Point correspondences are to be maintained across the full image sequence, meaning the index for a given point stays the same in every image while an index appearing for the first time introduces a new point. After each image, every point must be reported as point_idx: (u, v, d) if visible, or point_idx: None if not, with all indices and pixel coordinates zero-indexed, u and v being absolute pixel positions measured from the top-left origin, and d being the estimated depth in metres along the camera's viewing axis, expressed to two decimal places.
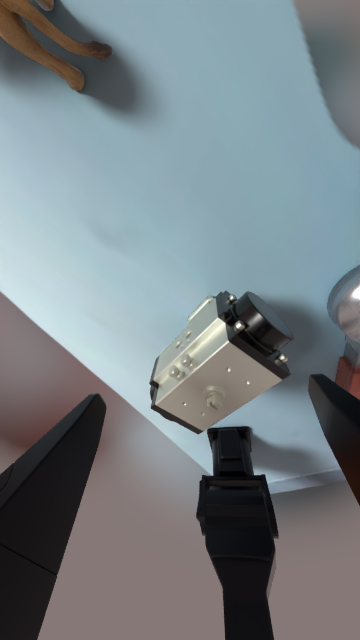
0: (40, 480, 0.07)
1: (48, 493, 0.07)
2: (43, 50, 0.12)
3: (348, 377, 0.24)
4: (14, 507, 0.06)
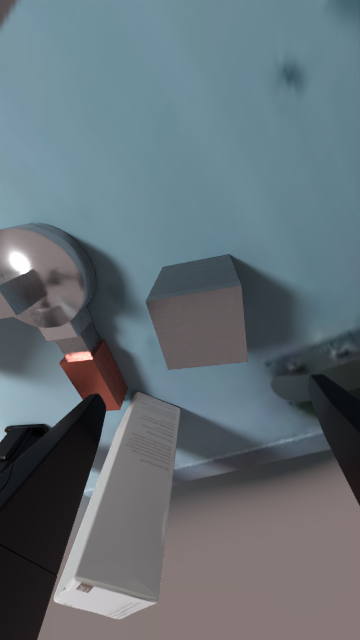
0: (40, 480, 0.07)
1: (48, 493, 0.07)
2: None
3: None
4: (14, 507, 0.06)
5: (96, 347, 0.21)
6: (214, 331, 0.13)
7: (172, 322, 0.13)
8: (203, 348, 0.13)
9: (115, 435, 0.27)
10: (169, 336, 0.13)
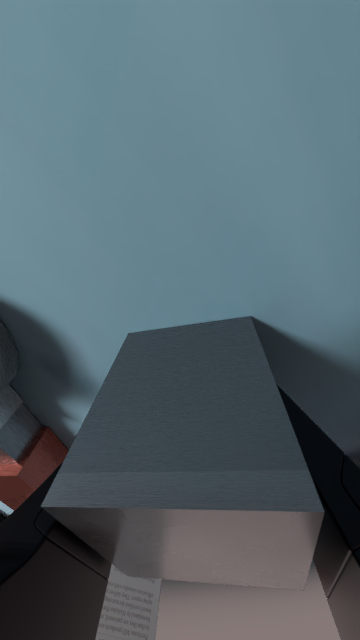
0: None
1: None
2: None
3: None
4: None
5: (32, 442, 0.13)
6: (230, 557, 0.05)
7: (121, 537, 0.05)
8: (201, 569, 0.06)
9: None
10: (119, 550, 0.05)
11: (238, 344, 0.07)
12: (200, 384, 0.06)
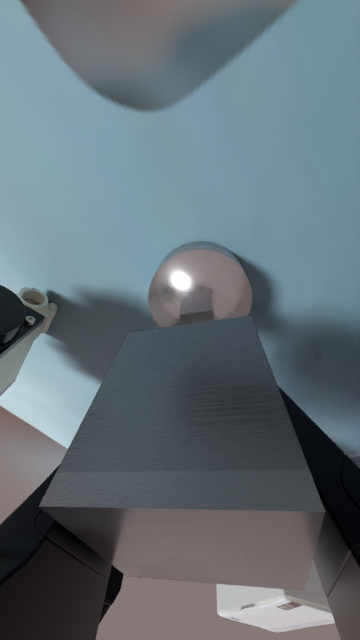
0: None
1: None
2: None
3: None
4: None
5: None
6: (230, 557, 0.05)
7: (120, 537, 0.05)
8: (201, 569, 0.06)
9: None
10: (118, 550, 0.05)
11: (238, 343, 0.07)
12: (200, 383, 0.06)
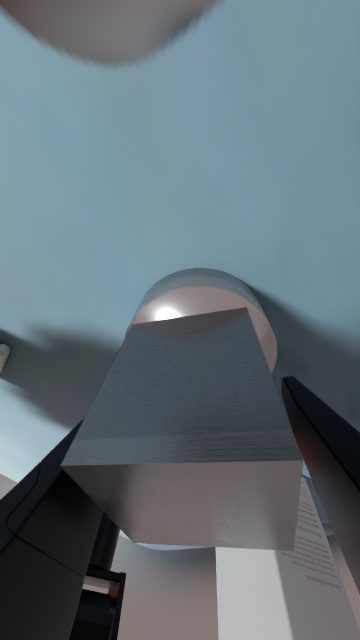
0: (68, 480, 0.07)
1: (76, 493, 0.07)
2: None
3: None
4: (45, 508, 0.06)
5: None
6: (225, 514, 0.06)
7: (130, 496, 0.06)
8: (200, 530, 0.06)
9: None
10: (127, 511, 0.06)
11: (234, 331, 0.08)
12: (199, 365, 0.07)
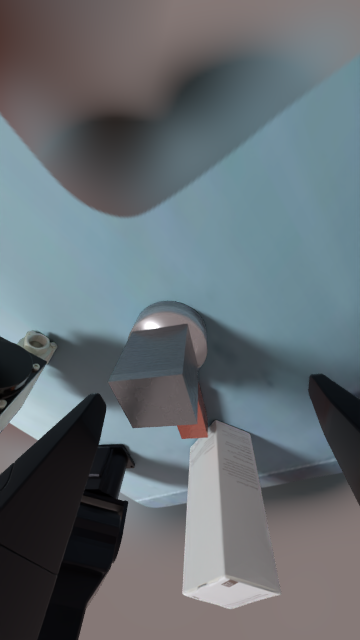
0: (40, 480, 0.07)
1: (48, 493, 0.07)
2: None
3: None
4: (14, 507, 0.06)
5: None
6: (166, 403, 0.15)
7: (131, 396, 0.15)
8: (159, 414, 0.16)
9: (191, 455, 0.32)
10: (130, 405, 0.16)
11: (178, 335, 0.18)
12: (159, 349, 0.17)
